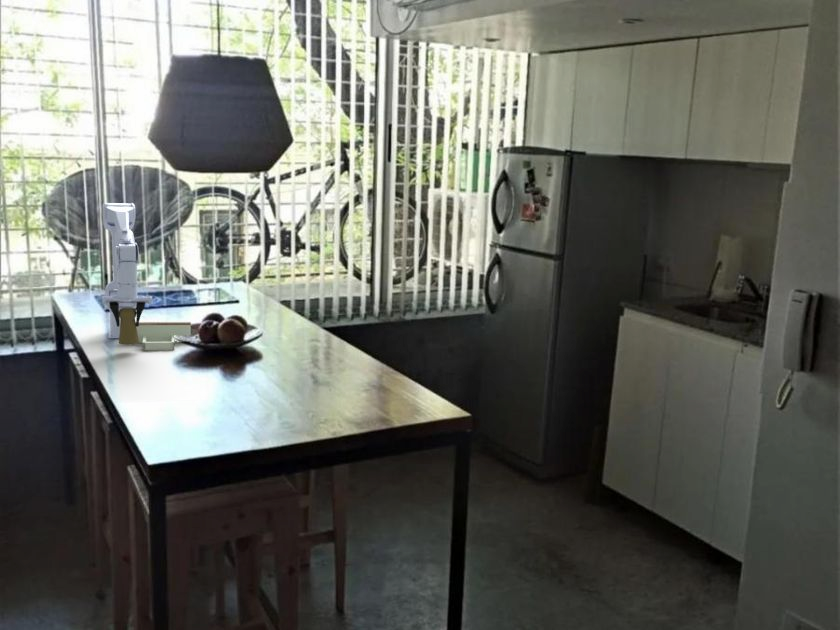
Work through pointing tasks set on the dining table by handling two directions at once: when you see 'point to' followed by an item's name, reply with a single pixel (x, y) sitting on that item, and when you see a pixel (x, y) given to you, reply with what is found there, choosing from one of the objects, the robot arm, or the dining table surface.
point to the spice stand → (161, 334)
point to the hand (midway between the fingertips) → (127, 325)
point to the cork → (128, 326)
